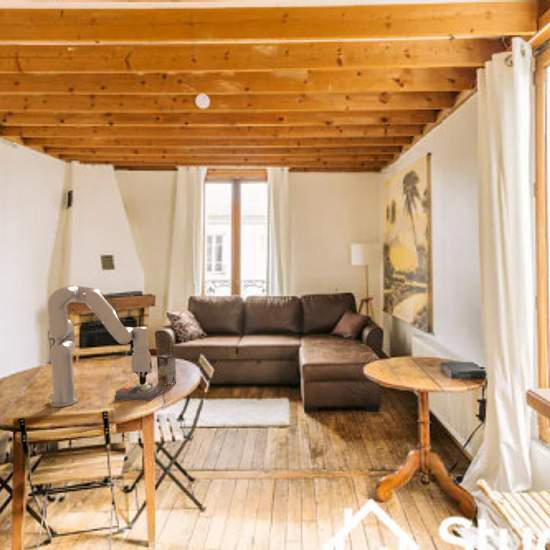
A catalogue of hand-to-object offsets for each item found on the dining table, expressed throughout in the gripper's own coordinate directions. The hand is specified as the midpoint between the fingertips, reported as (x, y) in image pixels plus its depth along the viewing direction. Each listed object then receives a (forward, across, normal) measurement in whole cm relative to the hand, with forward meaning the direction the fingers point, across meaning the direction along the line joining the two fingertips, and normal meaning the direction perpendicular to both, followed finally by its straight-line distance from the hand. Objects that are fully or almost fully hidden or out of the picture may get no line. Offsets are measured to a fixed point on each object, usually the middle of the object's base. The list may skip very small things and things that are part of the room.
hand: (142, 383), depth 213 cm
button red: (+2, -6, -7) cm, 9 cm away
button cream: (+2, 0, 0) cm, 2 cm away
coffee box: (+5, +5, +17) cm, 19 cm away
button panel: (+5, 0, -3) cm, 6 cm away
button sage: (+1, +6, -7) cm, 9 cm away
